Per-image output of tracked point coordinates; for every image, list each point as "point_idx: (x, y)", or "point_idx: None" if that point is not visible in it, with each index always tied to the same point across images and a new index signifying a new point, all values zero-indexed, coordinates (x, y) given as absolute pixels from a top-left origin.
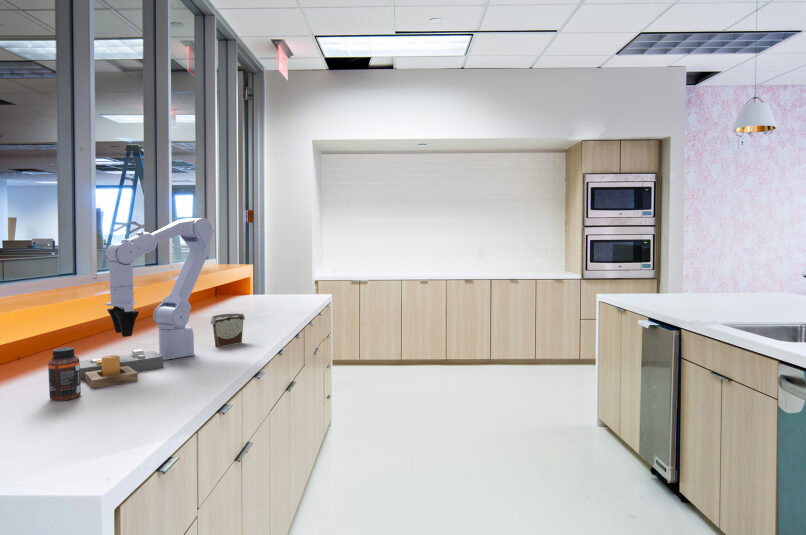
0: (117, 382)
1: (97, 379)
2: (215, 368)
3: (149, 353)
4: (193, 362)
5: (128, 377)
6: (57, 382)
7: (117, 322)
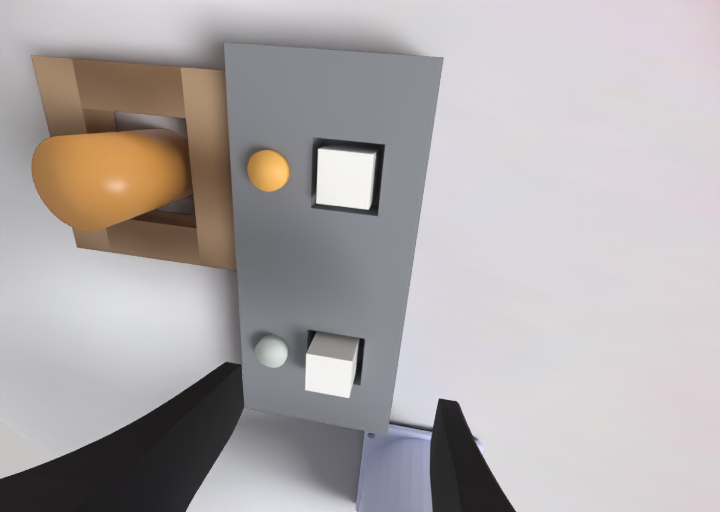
0: None
1: (37, 80)
2: None
3: (344, 404)
4: (260, 456)
5: None
6: None
7: (447, 492)
